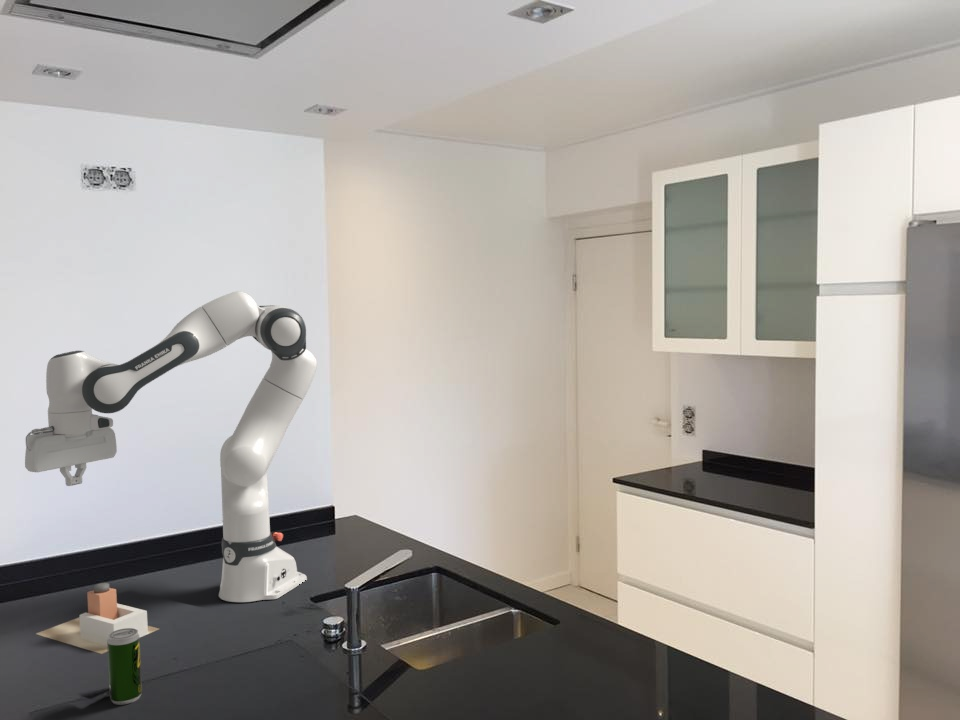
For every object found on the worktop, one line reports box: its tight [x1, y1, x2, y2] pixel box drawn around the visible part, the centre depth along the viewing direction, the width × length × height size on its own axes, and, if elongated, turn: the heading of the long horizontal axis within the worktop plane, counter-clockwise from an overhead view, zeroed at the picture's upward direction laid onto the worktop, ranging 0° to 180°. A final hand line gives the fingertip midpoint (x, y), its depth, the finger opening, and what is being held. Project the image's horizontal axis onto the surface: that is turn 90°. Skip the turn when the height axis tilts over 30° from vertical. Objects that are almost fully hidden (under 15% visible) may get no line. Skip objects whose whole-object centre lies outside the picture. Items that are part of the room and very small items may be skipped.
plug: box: [86, 582, 118, 620], centre depth 172 cm, size 4×4×10 cm
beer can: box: [107, 628, 143, 706], centre depth 146 cm, size 5×5×12 cm
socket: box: [79, 602, 149, 646], centre depth 171 cm, size 8×11×5 cm
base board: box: [35, 616, 160, 655], centre depth 174 cm, size 14×22×2 cm, turn 61°
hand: (74, 484), depth 183 cm, fingers closed
